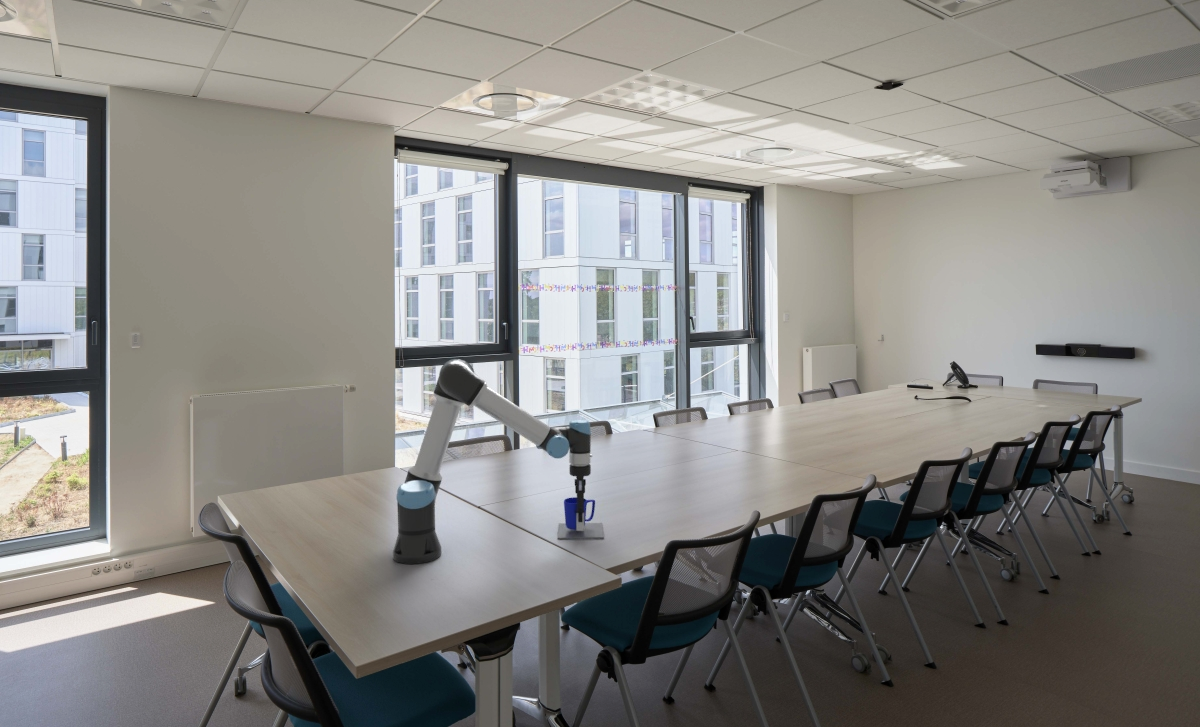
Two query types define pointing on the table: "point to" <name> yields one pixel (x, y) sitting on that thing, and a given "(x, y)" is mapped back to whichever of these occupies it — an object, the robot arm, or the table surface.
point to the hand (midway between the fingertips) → (580, 526)
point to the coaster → (581, 532)
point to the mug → (570, 514)
